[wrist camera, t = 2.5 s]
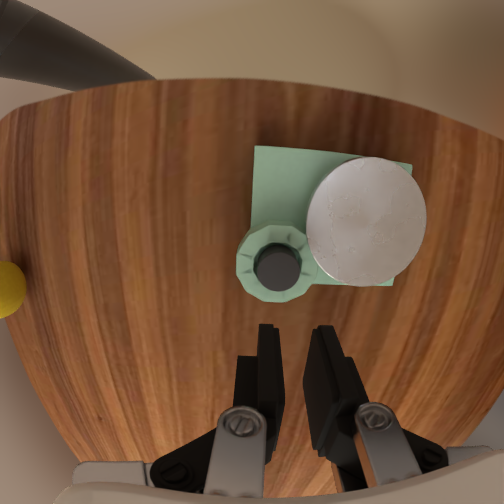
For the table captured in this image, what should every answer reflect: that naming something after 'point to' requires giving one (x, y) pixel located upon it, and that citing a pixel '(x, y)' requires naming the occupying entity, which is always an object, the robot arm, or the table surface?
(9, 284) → the lemon
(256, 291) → the scale
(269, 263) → the tare button
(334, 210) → the scale weighing pan
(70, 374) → the table surface
